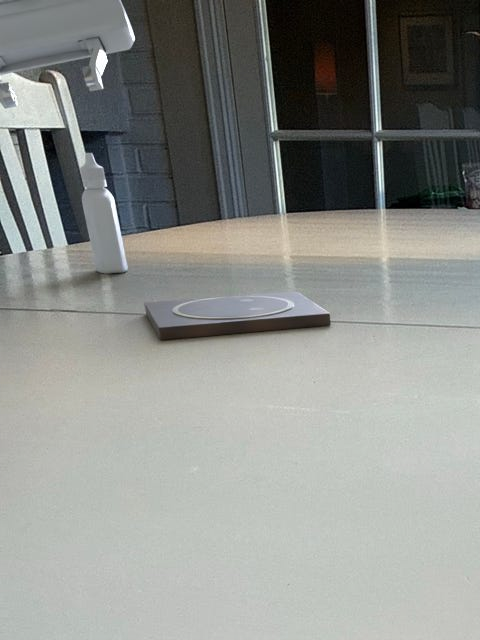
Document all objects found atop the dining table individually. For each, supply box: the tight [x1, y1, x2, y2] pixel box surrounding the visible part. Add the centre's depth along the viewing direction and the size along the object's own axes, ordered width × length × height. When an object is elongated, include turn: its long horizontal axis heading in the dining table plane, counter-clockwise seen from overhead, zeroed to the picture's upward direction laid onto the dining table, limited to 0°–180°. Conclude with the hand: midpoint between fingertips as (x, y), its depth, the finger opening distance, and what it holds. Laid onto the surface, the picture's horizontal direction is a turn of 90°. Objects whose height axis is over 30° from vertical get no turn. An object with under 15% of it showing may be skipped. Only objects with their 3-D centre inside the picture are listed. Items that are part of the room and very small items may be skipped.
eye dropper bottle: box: [79, 152, 128, 275], centre depth 101 cm, size 4×6×12 cm
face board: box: [143, 290, 332, 341], centre depth 79 cm, size 14×12×1 cm
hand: (51, 95), depth 99 cm, fingers open, 8 cm apart
